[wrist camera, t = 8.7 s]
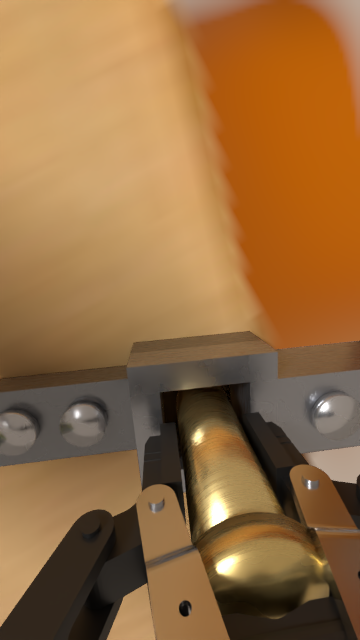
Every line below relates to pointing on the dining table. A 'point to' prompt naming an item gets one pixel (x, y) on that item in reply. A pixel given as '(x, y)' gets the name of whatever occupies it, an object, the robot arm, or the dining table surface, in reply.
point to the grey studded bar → (179, 374)
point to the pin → (241, 515)
